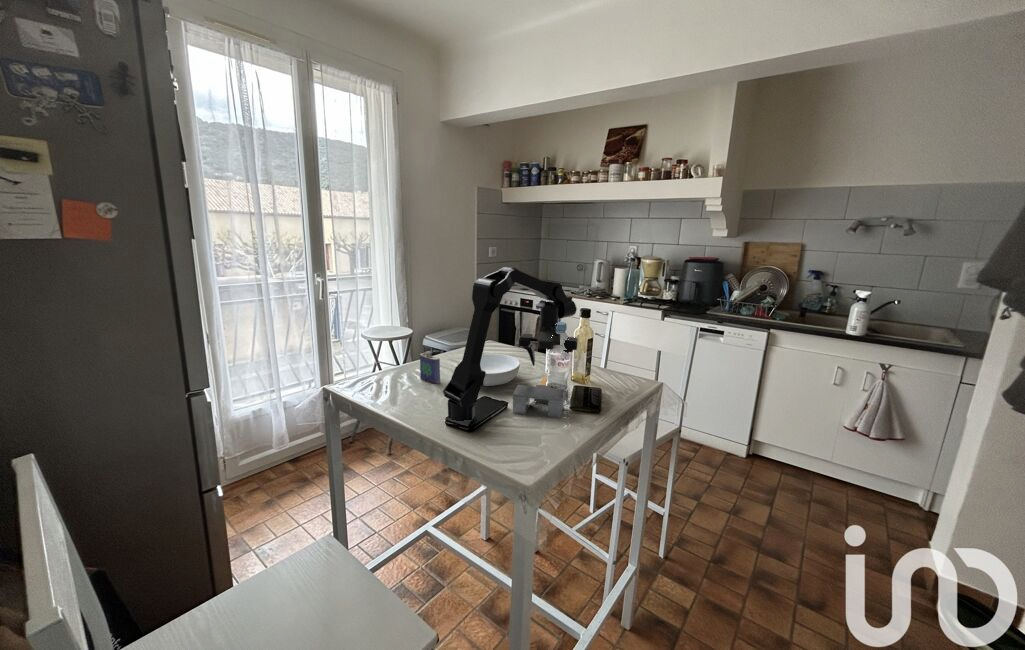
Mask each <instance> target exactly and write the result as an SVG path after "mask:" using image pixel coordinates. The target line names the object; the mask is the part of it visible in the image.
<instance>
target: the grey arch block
mask: <svg viewBox="0 0 1025 650" xmlns="http://www.w3.org/2000/svg"><path fill="white" fill-rule="evenodd" d="M531 399H533V400H534V399H544V400H549V402H548V407H547V408H548V409H547V410H548V411H547V417H548V418H554V419H555V418H556V419H562V416H563V411H564V404H565V403H564V402H565V389H564V388H553V387H551V388H545V387H536V385H535V386H533V385H526V384H525V385H523V384H517V386H516V388H515V390H514V391H513V393H512V414H520V415H526V414H527V411H528V408H529V406H530V405H531V401H530V400H531Z"/></svg>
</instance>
